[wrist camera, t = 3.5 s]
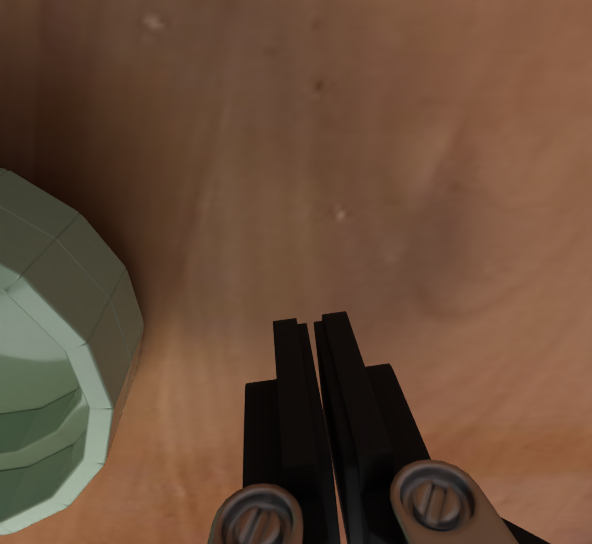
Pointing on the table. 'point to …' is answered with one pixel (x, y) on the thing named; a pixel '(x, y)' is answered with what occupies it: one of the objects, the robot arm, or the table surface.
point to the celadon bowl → (58, 352)
